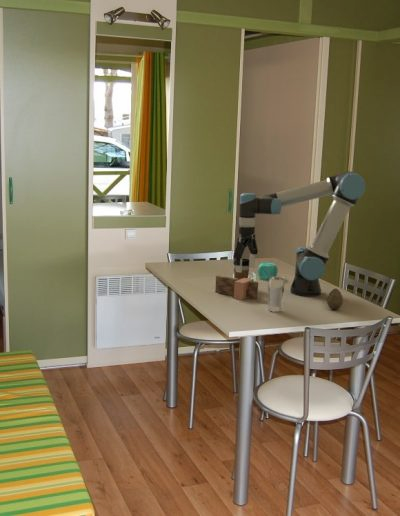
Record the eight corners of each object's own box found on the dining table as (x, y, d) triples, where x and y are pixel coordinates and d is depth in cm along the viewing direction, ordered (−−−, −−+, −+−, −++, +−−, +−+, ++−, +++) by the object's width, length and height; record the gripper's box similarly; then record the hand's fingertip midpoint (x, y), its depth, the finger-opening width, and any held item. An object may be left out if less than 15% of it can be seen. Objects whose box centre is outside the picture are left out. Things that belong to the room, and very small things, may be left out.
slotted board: (257, 298, 331) (258, 282, 329) (255, 299, 329) (256, 283, 327) (217, 291, 342) (218, 275, 340) (215, 291, 340) (216, 276, 338)
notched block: (243, 293, 339) (244, 277, 337) (252, 295, 336) (253, 279, 335) (233, 297, 331) (234, 281, 329) (243, 299, 328) (243, 283, 326)
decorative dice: (270, 281, 368) (271, 266, 367) (257, 278, 373) (258, 264, 371) (277, 278, 375) (278, 264, 373) (264, 276, 379) (265, 262, 378)
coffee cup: (247, 290, 345) (249, 261, 342) (231, 289, 347) (232, 260, 344) (249, 286, 353) (251, 258, 350) (233, 285, 355) (235, 257, 352)
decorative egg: (324, 307, 319) (325, 286, 317) (339, 307, 320) (341, 286, 318) (328, 311, 312) (330, 290, 310) (343, 311, 313) (345, 290, 311)
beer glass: (272, 307, 316) (274, 275, 313) (285, 310, 311) (287, 278, 308) (264, 310, 310) (266, 277, 307) (277, 313, 306) (279, 280, 303)
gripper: (251, 222, 339) (250, 264, 343) (227, 228, 318) (225, 273, 322) (265, 223, 335) (263, 266, 339) (241, 229, 314) (240, 275, 318)
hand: (245, 269), depth 331 cm, fingers open, 13 cm apart
